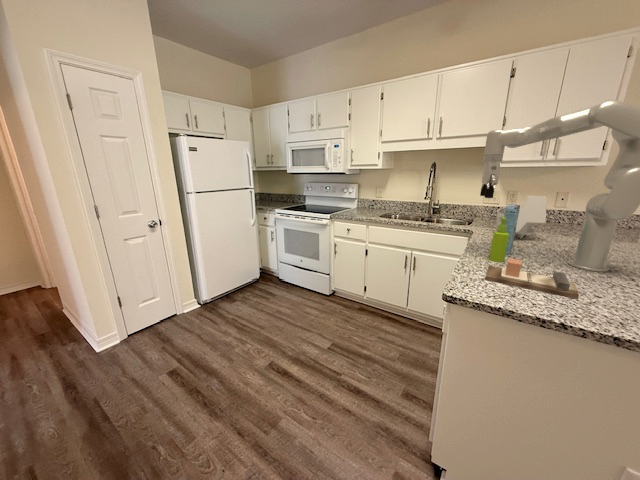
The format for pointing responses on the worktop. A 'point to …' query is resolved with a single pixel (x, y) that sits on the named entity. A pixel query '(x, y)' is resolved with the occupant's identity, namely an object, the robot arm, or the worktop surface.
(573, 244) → the worktop surface
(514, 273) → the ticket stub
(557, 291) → the ticket board
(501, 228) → the soap dispenser
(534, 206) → the white box
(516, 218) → the light blue box
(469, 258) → the worktop surface
